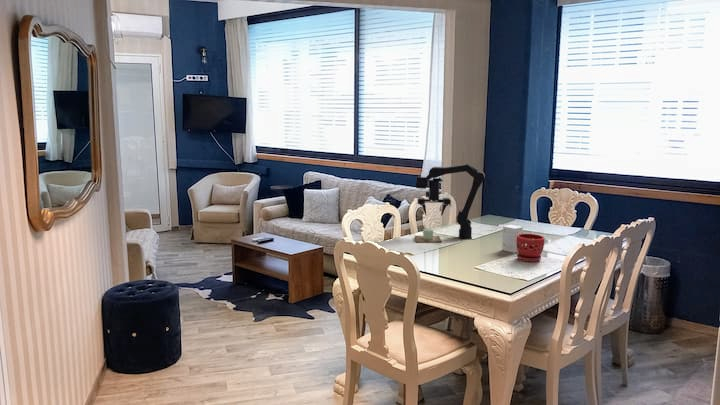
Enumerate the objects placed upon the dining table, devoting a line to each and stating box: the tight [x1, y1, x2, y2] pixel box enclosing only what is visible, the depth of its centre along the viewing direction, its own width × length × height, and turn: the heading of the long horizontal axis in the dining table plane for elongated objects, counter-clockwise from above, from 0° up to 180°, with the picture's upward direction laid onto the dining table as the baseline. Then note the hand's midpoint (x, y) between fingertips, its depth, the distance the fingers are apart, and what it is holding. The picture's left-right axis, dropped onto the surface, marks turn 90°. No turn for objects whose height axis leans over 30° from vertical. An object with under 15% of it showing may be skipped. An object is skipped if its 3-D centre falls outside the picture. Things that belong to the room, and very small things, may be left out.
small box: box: [501, 224, 524, 254], centre depth 290 cm, size 8×6×13 cm
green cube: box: [422, 228, 434, 239], centre depth 314 cm, size 5×5×5 cm
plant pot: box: [516, 233, 546, 263], centre depth 274 cm, size 13×13×12 cm
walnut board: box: [414, 235, 442, 244], centre depth 314 cm, size 14×12×1 cm
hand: (433, 215), depth 322 cm, fingers open, 9 cm apart
